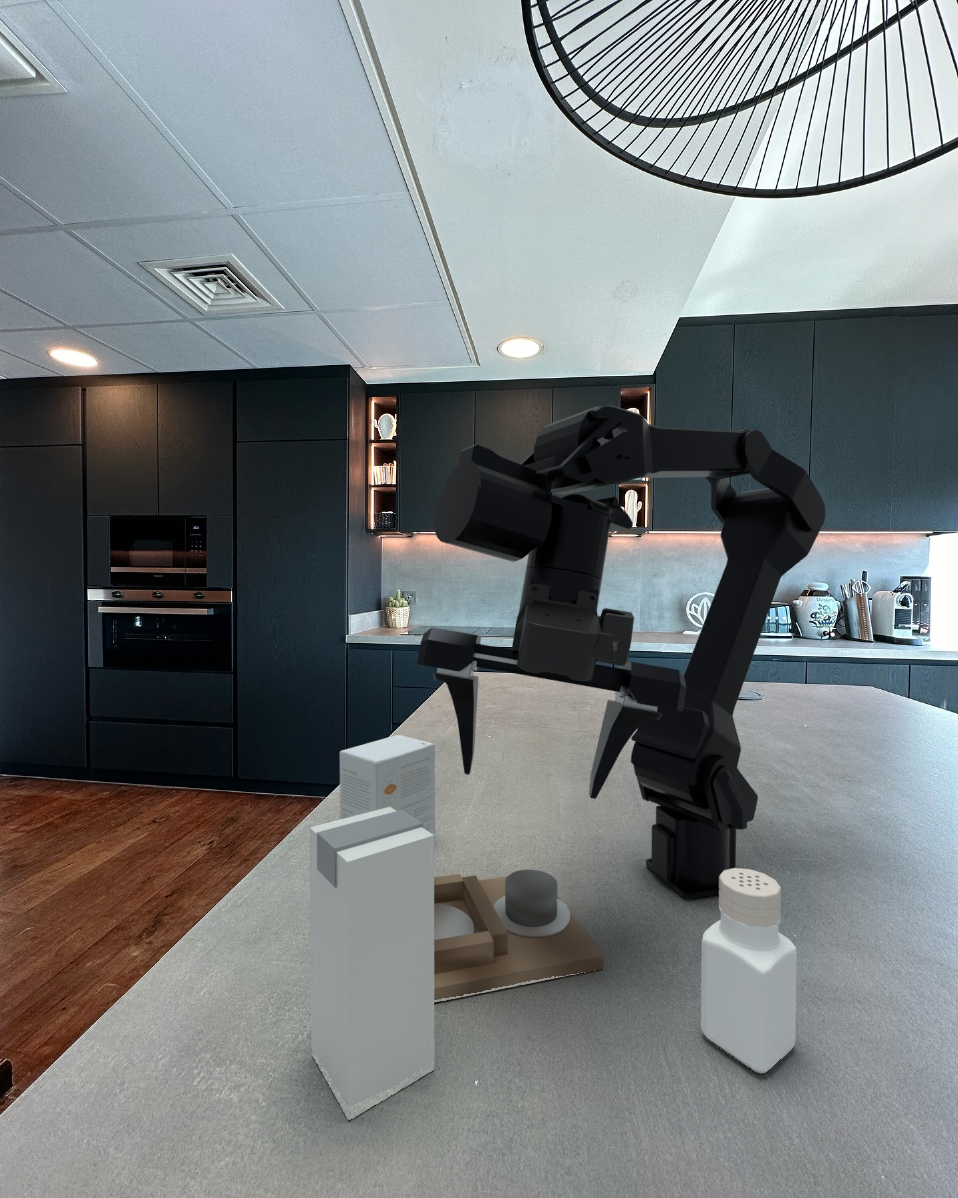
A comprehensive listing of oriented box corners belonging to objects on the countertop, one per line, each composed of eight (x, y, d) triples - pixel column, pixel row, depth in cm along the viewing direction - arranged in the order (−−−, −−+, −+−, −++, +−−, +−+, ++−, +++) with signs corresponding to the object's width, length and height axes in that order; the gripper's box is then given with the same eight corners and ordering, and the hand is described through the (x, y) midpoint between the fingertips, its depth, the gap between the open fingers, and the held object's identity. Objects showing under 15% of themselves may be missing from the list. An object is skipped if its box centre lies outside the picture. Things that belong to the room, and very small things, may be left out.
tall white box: (392, 1015, 36) (391, 803, 35) (435, 1070, 32) (435, 831, 31) (309, 1056, 32) (308, 824, 32) (346, 1123, 28) (345, 858, 28)
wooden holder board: (538, 883, 51) (538, 844, 51) (603, 969, 40) (603, 919, 40) (354, 910, 47) (354, 868, 47) (367, 1017, 35) (367, 961, 35)
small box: (399, 830, 62) (398, 733, 62) (436, 844, 59) (436, 742, 59) (338, 857, 56) (337, 749, 56) (376, 875, 53) (375, 761, 52)
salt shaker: (763, 1085, 31) (765, 908, 30) (696, 1037, 34) (697, 877, 34) (800, 1049, 33) (802, 885, 33) (733, 1008, 36) (735, 858, 36)
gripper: (426, 534, 36) (379, 786, 35) (729, 583, 35) (693, 847, 33) (446, 562, 47) (411, 754, 46) (677, 600, 46) (648, 799, 44)
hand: (529, 785), depth 42 cm, fingers open, 9 cm apart
